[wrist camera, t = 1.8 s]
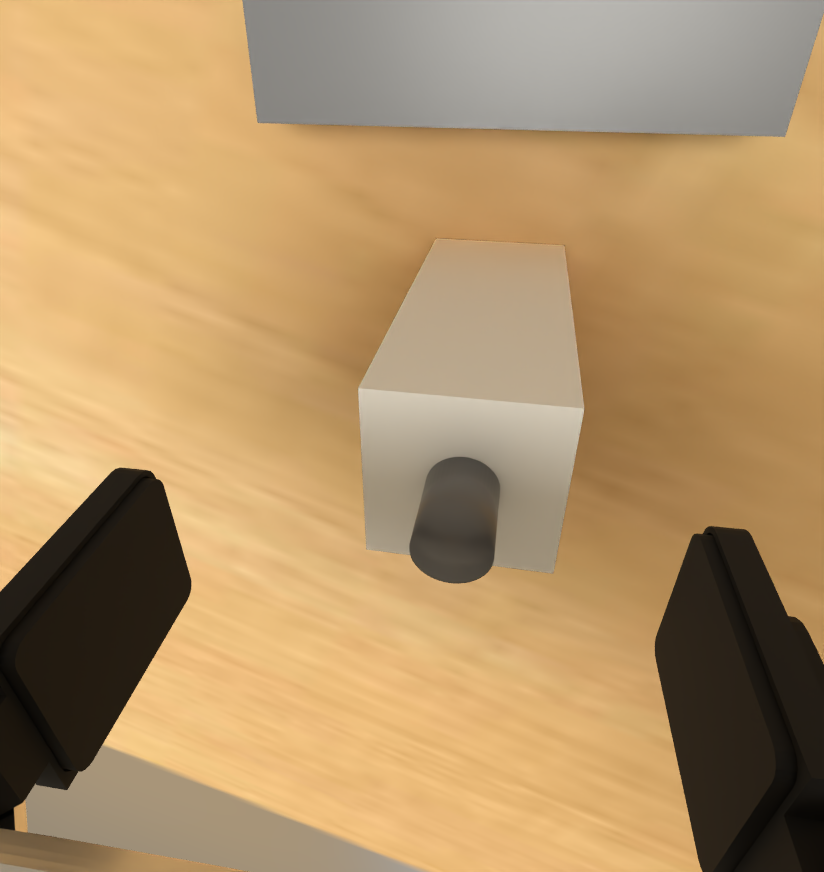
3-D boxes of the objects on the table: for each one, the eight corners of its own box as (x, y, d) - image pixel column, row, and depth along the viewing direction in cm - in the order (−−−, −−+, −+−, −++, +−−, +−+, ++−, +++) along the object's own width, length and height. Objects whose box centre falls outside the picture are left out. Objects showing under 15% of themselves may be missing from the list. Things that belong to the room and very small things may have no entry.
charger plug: (564, 245, 20) (592, 471, 10) (547, 362, 23) (555, 645, 12) (436, 238, 21) (329, 443, 10) (433, 352, 23) (344, 615, 13)
